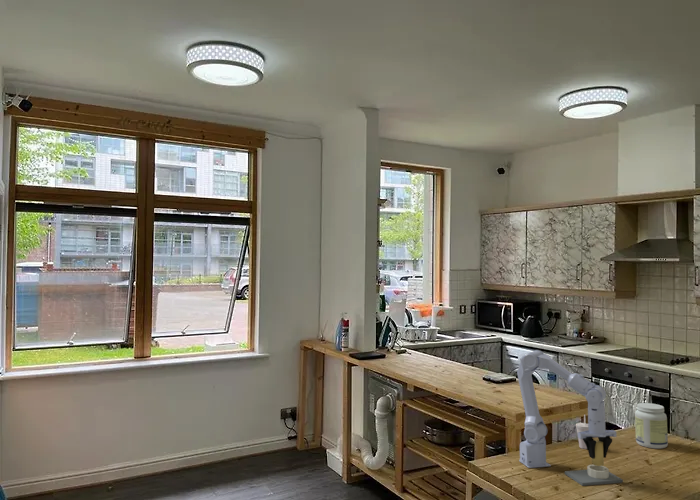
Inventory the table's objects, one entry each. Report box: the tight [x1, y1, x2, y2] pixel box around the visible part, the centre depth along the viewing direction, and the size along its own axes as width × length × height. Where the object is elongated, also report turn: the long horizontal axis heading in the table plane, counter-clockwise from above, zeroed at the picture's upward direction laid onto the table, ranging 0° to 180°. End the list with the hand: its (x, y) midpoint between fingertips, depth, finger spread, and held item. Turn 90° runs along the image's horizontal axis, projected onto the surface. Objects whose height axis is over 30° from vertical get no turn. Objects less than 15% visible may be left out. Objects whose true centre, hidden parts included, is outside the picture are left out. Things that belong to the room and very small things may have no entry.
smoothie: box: [575, 414, 588, 450], centre depth 224 cm, size 6×6×14 cm
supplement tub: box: [634, 402, 669, 449], centre depth 227 cm, size 12×12×17 cm
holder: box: [564, 464, 624, 487], centre depth 190 cm, size 16×11×4 cm
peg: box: [591, 439, 605, 466], centre depth 191 cm, size 4×4×8 cm
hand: (597, 457), depth 191 cm, fingers closed on peg, 4 cm apart
